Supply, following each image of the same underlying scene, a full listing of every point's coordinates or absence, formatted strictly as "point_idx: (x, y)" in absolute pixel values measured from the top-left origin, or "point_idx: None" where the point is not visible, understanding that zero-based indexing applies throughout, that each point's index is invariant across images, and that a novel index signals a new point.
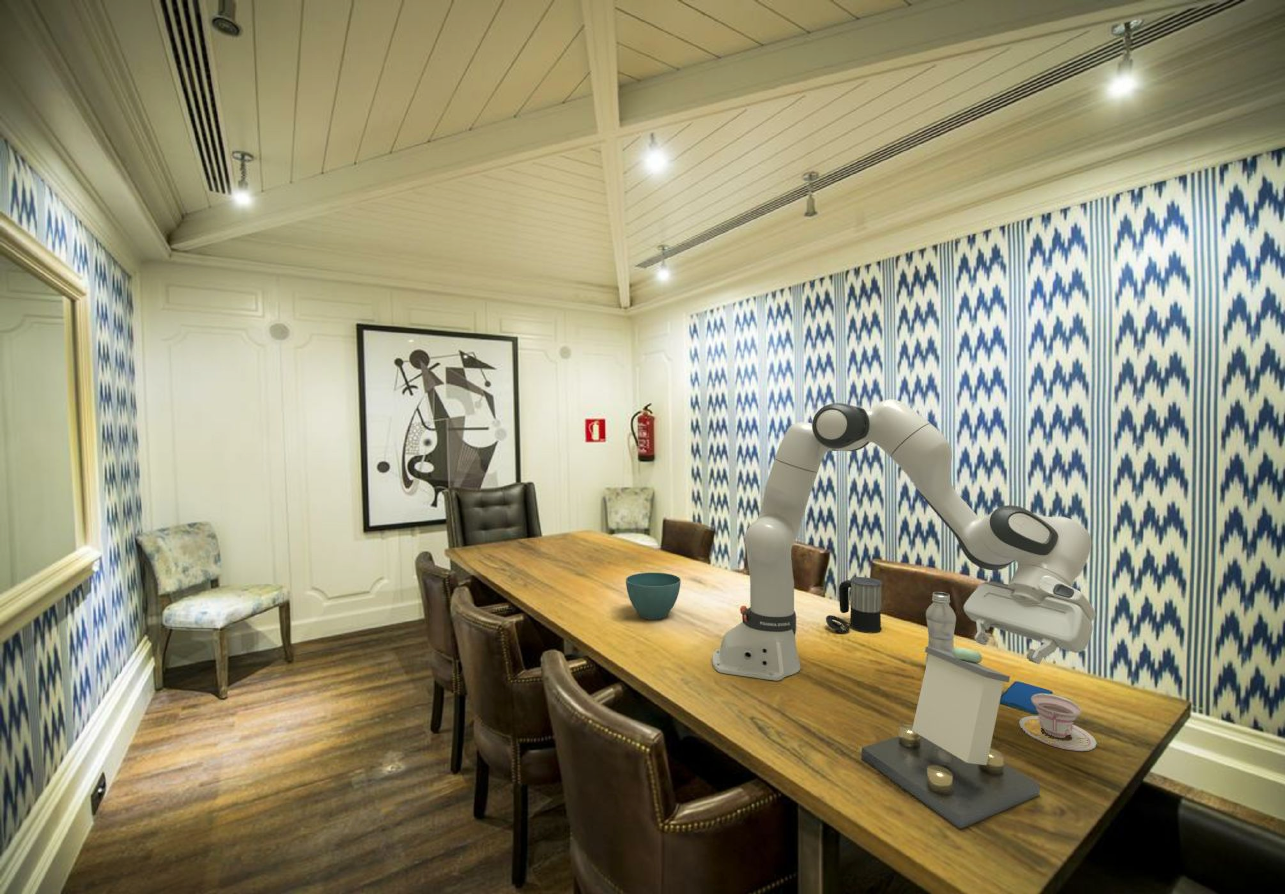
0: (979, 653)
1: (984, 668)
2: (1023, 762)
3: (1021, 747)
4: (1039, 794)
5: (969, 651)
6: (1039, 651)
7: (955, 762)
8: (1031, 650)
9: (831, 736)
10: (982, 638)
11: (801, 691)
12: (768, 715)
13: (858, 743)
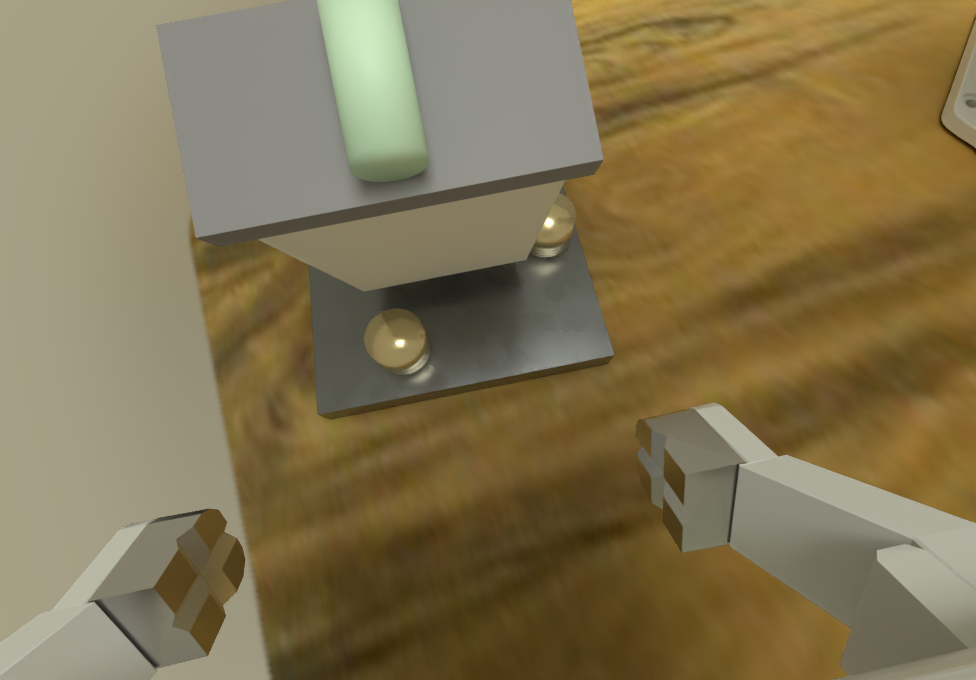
0: (358, 143)
1: (251, 101)
2: (444, 509)
3: (508, 580)
4: (329, 418)
5: (331, 24)
6: (50, 612)
7: (444, 281)
8: (139, 569)
9: (635, 130)
10: (651, 428)
11: (875, 157)
12: (738, 49)
13: (599, 168)
